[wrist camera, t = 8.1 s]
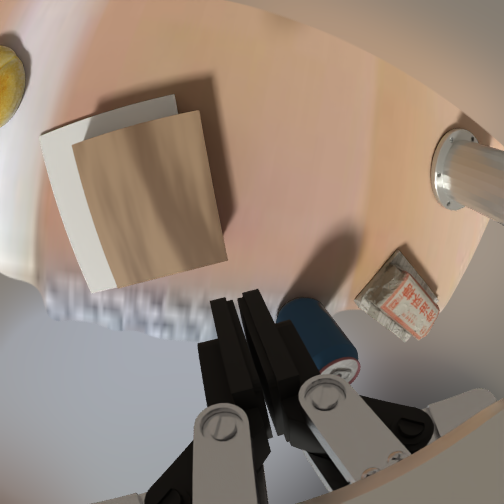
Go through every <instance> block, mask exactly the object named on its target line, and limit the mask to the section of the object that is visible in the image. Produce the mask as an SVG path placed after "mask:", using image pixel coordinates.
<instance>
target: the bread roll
mask: <svg viewBox="0 0 504 504" xmlns="http://www.w3.org/2000/svg"><path fill="white" fill-rule="evenodd" d="M24 88H25V72H24V67H23V64H22V62H21V61H20V59H19V58H18V57H17V55H16V54H15V52H14V51H13V50H12V49H10V48H8V47H6V46H1V45H0V127H2V126H3V125H5V124H6V123H7V122H8V121H9V120H10V119H11V118H12V117H13V115H14V114H15V112H16V110H17V108H18V106H19V104H20V102H21V99H22V96H23V92H24Z"/></svg>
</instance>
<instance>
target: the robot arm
mask: <svg viewBox="0 0 504 504" xmlns="http://www.w3.org/2000/svg"><path fill="white" fill-rule="evenodd" d="M431 184H432V189H433V193H434V195H435V198H436V199H437V201H438V203H439V204H440V205H441V206H443V207H445V208H446V209H449V210H459V209H461V208H463V207H465V206H466V207H468V208H470V209H472V210H474V211H476V212H478V213H480V214H482V215H484V216H486V217H488V218H490V219H492V220H494V221H496V222H498V223H500V224H502V225H503V226H504V151H502V150H499V149H496V148H492V147H489V146H485V145H482V144H479V143H478V141H477V139H476V138H475V136H474V135H473V134H472V133H471V132H469V131H467V130H465V129H453V130H451V131H449V132H448V133H446V134H445V135H444V137H443V138H442V139H441V141H440V142H439V144H438V146H437V148H436V151H435V154H434V157H433V161H432V167H431ZM242 295H243V297H242V298H238V305H239V309H240V314H241V318H242V323H243V327H244V332H245V336H246V339H245V336H244V333H243V330H242V327H241V324H240V321H239V318H238V315H237V312H236V309H235V306H234V303H233V300H230V301H226V298H225V297H224V298H220V299H216V300H212V301H210V304H211V309H212V314H213V318H214V323H215V327H216V332H217V336H218V339H214V340H210V341H206V342H202V343H198V353H199V360H200V366H201V372H202V378H203V384H204V390H205V396H206V402H207V408H206V409H204V410H203V411H202V412H201V413H200V414H199V415H198V417H197V418H196V420H195V425H194V439H193V441H192V442H191V443H190V444H189V445H188V447H187V448H186V449H185V450H184V451H183V452H182V453H181V455H180V456H179V457H178V458H177V459H176V460H175V461H174V463H173V464H172V465H171V466H170V467H169V468H168V469H167V470H166V471H165V472H164V473H163V475H162V476H161V477H160V478H159V479H158V480H157V481H156V482H155V483H154V484H153V485H152V486H151V488H150V489H149V490H148V492H146V493H143V494H139V495H138V494H137V493H134V494H130V495H126V496H122V497H119V498H114V499H110V500H106V501H102V502H97V503H92V504H268V496H267V489H266V481H265V473H264V466H263V463H264V461H265V460H266V458H267V457H268V455H269V454H270V452H271V450H270V446H269V443H268V439H269V438H272V437H273V436H272V431H271V427H270V422H269V418H268V413H267V409H266V405H267V407H268V410H269V413H270V416H271V418H272V421H273V424H274V427H275V430H276V432H277V435H278V436H279V435H283V434H284V436H285V439H286V441H287V442H290V444H291V446H293V447H296V448H299V449H302V450H303V453H304V455H305V456H306V458H307V459H308V461H309V462H310V464H311V466H312V467H313V469H314V470H315V472H316V473H317V475H318V476H319V478H320V479H321V481H322V482H323V484H324V485H325V487H326V488H327V489H328V491H329V493H327V494H324V495H321V496H318V497H315V498H313V499H309V500H307V501H303V502H300V503H297V504H504V398H503V399H501V400H499V401H497V400H496V398H495V396H494V395H493V394H492V393H491V392H490V391H488V390H487V389H483V388H477V389H473V390H470V391H468V392H465V393H462V394H460V395H457V396H454V397H451V398H448V399H445V400H442V401H439V402H436V403H433V404H430V405H428V406H427V408H425V409H422V410H420V409H418V408H414V407H409V406H404V405H399V404H395V403H391V402H386V401H382V400H377V399H373V398H369V397H365V396H361V395H358V393H357V392H356V391H355V390H354V389H353V388H352V387H351V385H350V384H349V383H348V382H347V381H345V380H344V379H343V378H341V377H339V376H337V375H332V374H320V372H319V370H318V368H317V366H316V364H315V363H314V361H313V359H312V357H311V355H310V354H309V352H308V350H307V348H306V346H305V344H304V343H303V341H302V339H301V337H300V335H299V334H298V332H297V330H296V328H295V326H294V324H293V323H292V321H291V320H290V319H289V320H286V321H282V322H279V323H274V321H273V319H272V317H271V315H270V313H269V311H268V308H267V306H266V304H265V302H264V300H263V298H262V296H261V294H260V292H259V290H258V289H256V290H252V291H248V292H244V293H242ZM246 341H247V342H246ZM265 402H266V404H265Z"/></svg>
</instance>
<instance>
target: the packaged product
mask: <svg viewBox="0 0 504 504" xmlns="http://www.w3.org/2000/svg"><path fill="white" fill-rule="evenodd" d="M438 301H439V300H438V299H437V297H436V296H435V295H434V293H433V292H432V291H431V289H430V288H429V287H428V286H427V284H426V283H425V282H424V280H423V279H422V278H421V277H420V276H419V275H418V273H417V272H416V270H415V269H414V268H413V267H412V266H411V264H410V263H409V262H408V261H407V259H406V258H405V257H404V256H403V254H402V253H401V252H400V251H399V250H396V251H395V252H394V254H393V255H392V256H391V257H390V258H389V260H388V261H387V262H386V263H385V264H384V266H383V267H382V268H381V269H380V270H379V272H378V273H377V274H376V275H375V276H374V278H373V279H372V280H371V281H370V282H369V283H368V285H367V286H366V287H365V288H364V289H363V290H362V292H361V293H360V294H359V295H358V296H357V297H356V298H355V300H354V302H355V303H356V304H357V306H358V307H359V308H360V309H362V310H363V311H364V312H366V313H367V314H368V315H370V316H371V317H372V318H374V319H375V320H376V321H378V322H379V323H380V324H381V325H383V326H384V327H386V328H387V329H388V330H389V331H391V332H392V333H393V334H395V335H396V336H397V337H399V338H400V339H401V340H402V341H404V342H406V341H407V340H408V339H409V338H410V337H411V335H412V336H413V337H415V338H416V339H417V340H420V339H421V338H423V337H425V336H426V335H427V334H428V333H429V331H430V329H431V327H432V325H433V324H434V321H435V319H436V318H437V316H438V314H439V307H438V305H437V304H436V303H437V302H438Z"/></svg>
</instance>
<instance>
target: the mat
mask: <svg viewBox="0 0 504 504" xmlns="http://www.w3.org/2000/svg"><path fill="white" fill-rule="evenodd" d="M176 114H178V111H177V105H176V100H175V94H172V95H168V96H164V97H159V98H155V99H151V100H147V101H143V102H139V103H136V104H132V105H128V106H125V107H121V108H118V109H114V110H111V111H108V112H105V113H102V114H98V115H95V116H92V117H89V118H86V119H84V120H81V121H78V122H75V123H72V124H70V125H67V126H64V127H62V128H59V129H56V130H54V131H51V132H49V133H46V134H44V135H42V136H39V140H40V145H41V149H42V153H43V157H44V161H45V165H46V169H47V172H48V176H49V179H50V183H51V186H52V190H53V193H54V196H55V200H56V203H57V206H58V209H59V212H60V215H61V218H62V221H63V224H64V226H65V229H66V232H67V235H68V238H69V240H70V243H71V246H72V248H73V251H74V253H75V256H76V258H77V261H78V263H79V266H80V268H81V271H82V273H83V275H84V278H85V280H86V282H87V284H88V287H89V289H90V291H91V293H96V292H100V291H104V290H108V289H112V288H116V287H117V285H116V283H115V280H114V278H113V275H112V272H111V270H110V267H109V265H108V262H107V259H106V257H105V254H104V251H103V249H102V246H101V243H100V240H99V237H98V234H97V232H96V229H95V226H94V223H93V220H92V216H91V213H90V210H89V207H88V204H87V200H86V197H85V194H84V190H83V187H82V183H81V180H80V176H79V173H78V169H77V165H76V161H75V157H74V153H73V149H72V145H73V144H75V143H78V142H81V141H84V140H87V139H90V138H93V137H96V136H99V135H102V134H105V133H108V132H111V131H115V130H118V129H122V128H125V127H129V126H132V125H136V124H139V123H143V122H147V121H151V120H155V119H159V118H163V117H167V116H172V115H176Z"/></svg>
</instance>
